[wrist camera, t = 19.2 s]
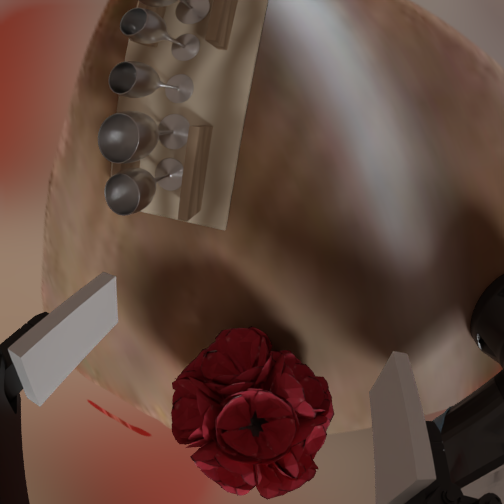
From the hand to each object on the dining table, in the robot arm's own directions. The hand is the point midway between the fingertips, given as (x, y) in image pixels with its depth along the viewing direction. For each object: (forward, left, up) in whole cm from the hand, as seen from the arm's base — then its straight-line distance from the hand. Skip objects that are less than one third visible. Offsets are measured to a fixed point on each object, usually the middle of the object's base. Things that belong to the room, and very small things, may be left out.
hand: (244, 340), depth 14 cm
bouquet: (-3, +29, -28) cm, 41 cm away
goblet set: (+16, -12, -28) cm, 34 cm away
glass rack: (+16, -12, -28) cm, 34 cm away
